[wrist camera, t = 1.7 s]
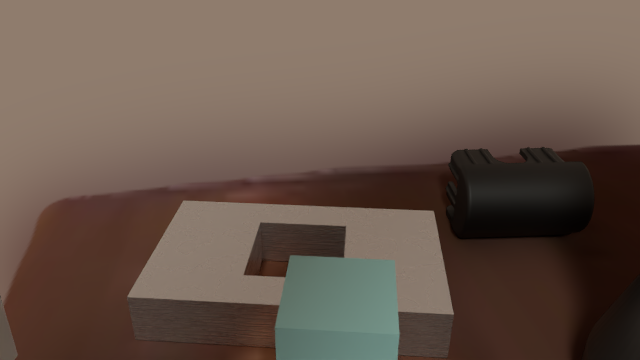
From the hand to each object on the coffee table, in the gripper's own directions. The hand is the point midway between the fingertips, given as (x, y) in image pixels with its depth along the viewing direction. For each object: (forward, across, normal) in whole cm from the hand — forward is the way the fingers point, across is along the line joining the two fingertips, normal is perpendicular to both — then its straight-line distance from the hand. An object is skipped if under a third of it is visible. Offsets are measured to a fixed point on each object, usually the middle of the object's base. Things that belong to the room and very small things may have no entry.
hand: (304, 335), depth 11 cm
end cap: (+34, +13, -18) cm, 40 cm away
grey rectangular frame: (+24, -4, -18) cm, 30 cm away
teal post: (+10, 0, -18) cm, 20 cm away
